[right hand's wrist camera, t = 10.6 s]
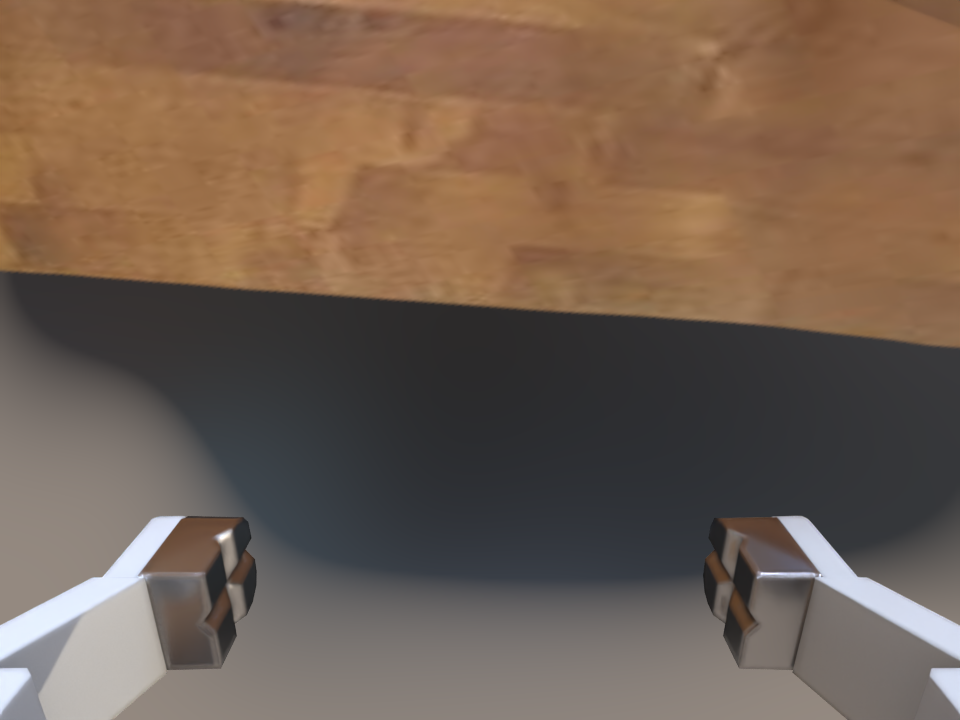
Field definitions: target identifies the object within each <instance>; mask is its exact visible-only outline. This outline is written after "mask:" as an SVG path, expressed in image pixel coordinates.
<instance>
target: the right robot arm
mask: <svg viewBox="0 0 960 720" xmlns="http://www.w3.org/2000/svg"><path fill="white" fill-rule="evenodd" d="M250 540H251V534H250V529H249V524H248V521H247V520H245V519H244V518H243V517H199V516H188V517H185V516H159V517H156V518H153V519H152V520H151V521H150V522H149V523H148V524H147V525H146V526H145V528H144V529H143V530H142V531H141V532H140V534H139V535H138V536H137V537H136V538H135V539H134V540H133V542H132V543H131V544H130V545H129V546H128V548H127V549H126V550H125V551H124V552H123V553H122V555H121V556H120V557H119V558H118V559H117V560H116V562H115V563H114V564H113V565H112V566H111V568H110V569H109V570H108V571H107V572H106V573H105V575H104V576H103V577H100V578H91V579H89V580H87V581H85V582H83V583H81V584H79V585H77V586H75V587H73V588H71V589H70V590H68V591H66V592H64V593H62V594H60V595H58V596H56V597H54V598H52V599H50V600H48V601H47V602H45V603H43V604H41V605H39V606H37V607H35V608H33V609H31V610H29V611H27V612H25V613H23V614H21V615H19V616H17V617H15V618H14V619H12V620H10V621H8V622H6V623H4V624H2V625H0V720H113V719H114V718H115V717H116V716H118V715H119V714H120V713H121V712H122V711H123V710H125V709H126V708H127V707H128V706H129V705H130V704H132V703H133V702H134V701H135V700H136V699H137V698H139V697H140V696H141V695H142V694H143V693H144V692H145V691H147V690H148V689H149V688H150V687H151V686H153V685H154V684H155V683H156V682H157V681H158V680H160V679H161V678H162V677H163V676H164V675H165V674H167V670H183V669H218V668H221V667H222V665H223V663H224V661H225V659H226V657H227V655H228V653H229V651H230V649H231V647H232V645H233V642H234V640H235V638H236V636H237V635H236V629H235V623H237V622H238V621H239V620H241V619H242V618H243V617H245V616H246V615H247V613H248V611H249V609H250V606H251V604H252V602H253V598H254V593H255V589H256V564H255V559H254V558H253V557H252V556H251V555H250V554H249V553H248V552H247V551H246V550H245V549H246V547H247V545H248V543H249V541H250ZM709 540H710V541H711V543H712V545H713V547H714V549H715V550H714V551H713V552H712V553H711V554H710V555H709V556H708V557H707V558H706V559H705V565H704V573H703V578H704V589H705V595H706V598H707V602H708V605H709V607H710V609H711V611H712V613H713V615H714V616H715V617H717V618H718V619H719V620H721V621H722V622H723V623H725V629H724V635H723V636H724V638H725V640H726V642H727V645H728V646H729V649H730V651H731V653H732V655H733V657H734V659H735V661H736V663H737V665H738V667H739V668H741V669H777V670H793V673H794V674H795V675H796V676H797V677H798V678H800V679H801V680H802V681H803V682H804V683H805V684H807V685H808V686H809V687H810V688H811V689H812V690H814V691H815V692H816V693H817V694H818V695H819V696H820V697H822V698H823V699H824V700H825V701H826V702H827V703H829V704H830V705H831V706H832V707H833V708H834V709H836V710H837V711H838V712H839V713H840V714H842V715H843V716H844V717H845V718H846V719H847V720H960V625H958V624H956V623H954V622H952V621H950V620H948V619H946V618H944V617H942V616H940V615H938V614H937V613H935V612H933V611H931V610H929V609H927V608H925V607H923V606H921V605H919V604H917V603H915V602H913V601H912V600H910V599H908V598H906V597H904V596H902V595H900V594H898V593H896V592H894V591H892V590H890V589H888V588H887V587H885V586H883V585H881V584H879V583H877V582H875V581H873V580H871V579H869V578H862V577H861V578H860V577H857V576H856V575H855V573H854V572H853V571H852V570H851V569H850V568H849V566H848V565H847V564H846V563H845V562H844V561H843V559H842V558H841V557H840V556H839V555H838V554H837V552H836V551H835V550H834V549H833V548H832V546H831V545H830V544H829V543H828V542H827V541H826V539H825V538H824V537H823V536H822V535H821V534H820V532H819V531H818V530H817V529H816V528H815V527H814V525H813V524H812V523H811V522H810V521H809V520H808V519H807V518H805V517H803V516H778V517H764V518H714V520H713V522H712V524H711V527H710V533H709Z"/></svg>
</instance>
